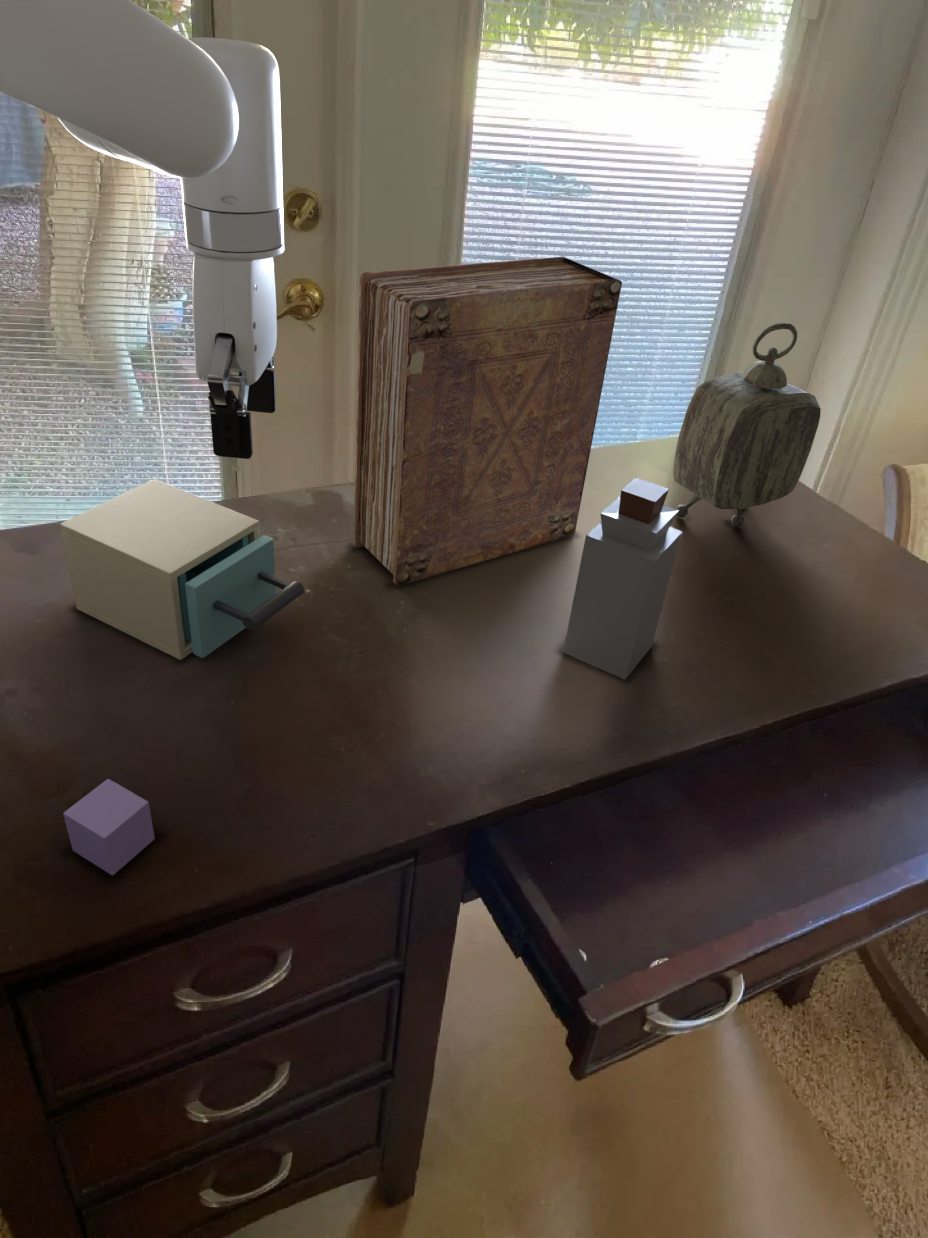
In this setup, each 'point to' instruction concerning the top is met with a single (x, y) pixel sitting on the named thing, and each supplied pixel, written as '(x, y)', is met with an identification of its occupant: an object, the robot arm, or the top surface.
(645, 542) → the perfume bottle
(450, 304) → the book
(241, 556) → the teal drawer
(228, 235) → the robot arm
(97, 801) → the lavender cube
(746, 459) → the tabletop clock
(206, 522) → the drawer cabinet
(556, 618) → the top surface
